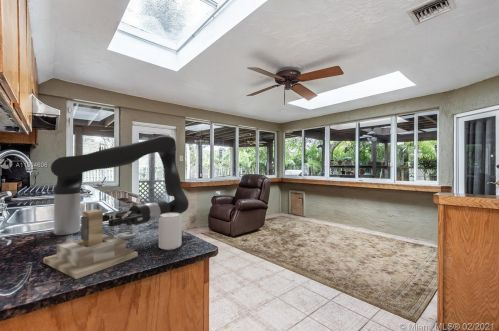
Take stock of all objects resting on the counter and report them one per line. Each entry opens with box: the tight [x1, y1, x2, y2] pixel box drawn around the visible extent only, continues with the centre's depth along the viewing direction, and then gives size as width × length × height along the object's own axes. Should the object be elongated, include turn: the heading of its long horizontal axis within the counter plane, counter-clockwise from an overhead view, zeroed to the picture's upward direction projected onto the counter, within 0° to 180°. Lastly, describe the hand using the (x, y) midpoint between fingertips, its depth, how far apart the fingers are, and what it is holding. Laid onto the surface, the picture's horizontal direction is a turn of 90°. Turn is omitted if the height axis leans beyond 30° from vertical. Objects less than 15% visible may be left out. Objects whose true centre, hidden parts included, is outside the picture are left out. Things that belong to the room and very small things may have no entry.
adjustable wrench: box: [113, 231, 138, 240], centre depth 92 cm, size 25×6×2 cm, turn 137°
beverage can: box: [158, 213, 183, 251], centre depth 88 cm, size 8×8×12 cm
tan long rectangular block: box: [80, 209, 104, 247], centre depth 76 cm, size 4×5×14 cm
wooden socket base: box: [42, 233, 139, 280], centre depth 76 cm, size 20×18×6 cm
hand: (101, 221), depth 78 cm, fingers open, 8 cm apart
